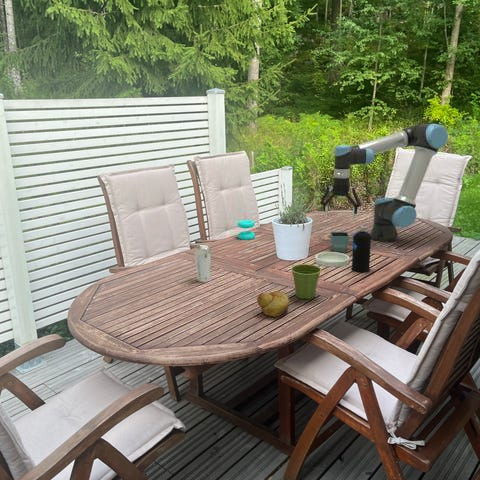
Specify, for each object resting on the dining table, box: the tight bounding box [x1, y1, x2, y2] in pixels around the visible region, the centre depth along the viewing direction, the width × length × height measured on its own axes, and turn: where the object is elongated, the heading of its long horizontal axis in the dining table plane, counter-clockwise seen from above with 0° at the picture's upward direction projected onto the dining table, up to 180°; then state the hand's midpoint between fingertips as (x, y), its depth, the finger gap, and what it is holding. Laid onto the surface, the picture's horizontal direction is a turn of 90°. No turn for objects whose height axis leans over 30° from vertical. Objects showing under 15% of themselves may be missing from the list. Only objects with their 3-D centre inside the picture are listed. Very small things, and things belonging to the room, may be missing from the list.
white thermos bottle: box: [194, 244, 212, 283], centre depth 191 cm, size 7×7×15 cm
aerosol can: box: [350, 225, 372, 274], centre depth 197 cm, size 8×8×20 cm
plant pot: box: [290, 263, 323, 300], centre depth 171 cm, size 12×12×11 cm
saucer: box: [314, 251, 351, 268], centre depth 212 cm, size 16×16×2 cm
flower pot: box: [329, 231, 350, 253], centre depth 227 cm, size 9×9×9 cm
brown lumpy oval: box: [256, 291, 290, 317], centre depth 159 cm, size 13×10×8 cm
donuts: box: [237, 219, 256, 241], centre depth 255 cm, size 10×10×10 cm
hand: (339, 219), depth 223 cm, fingers open, 13 cm apart
